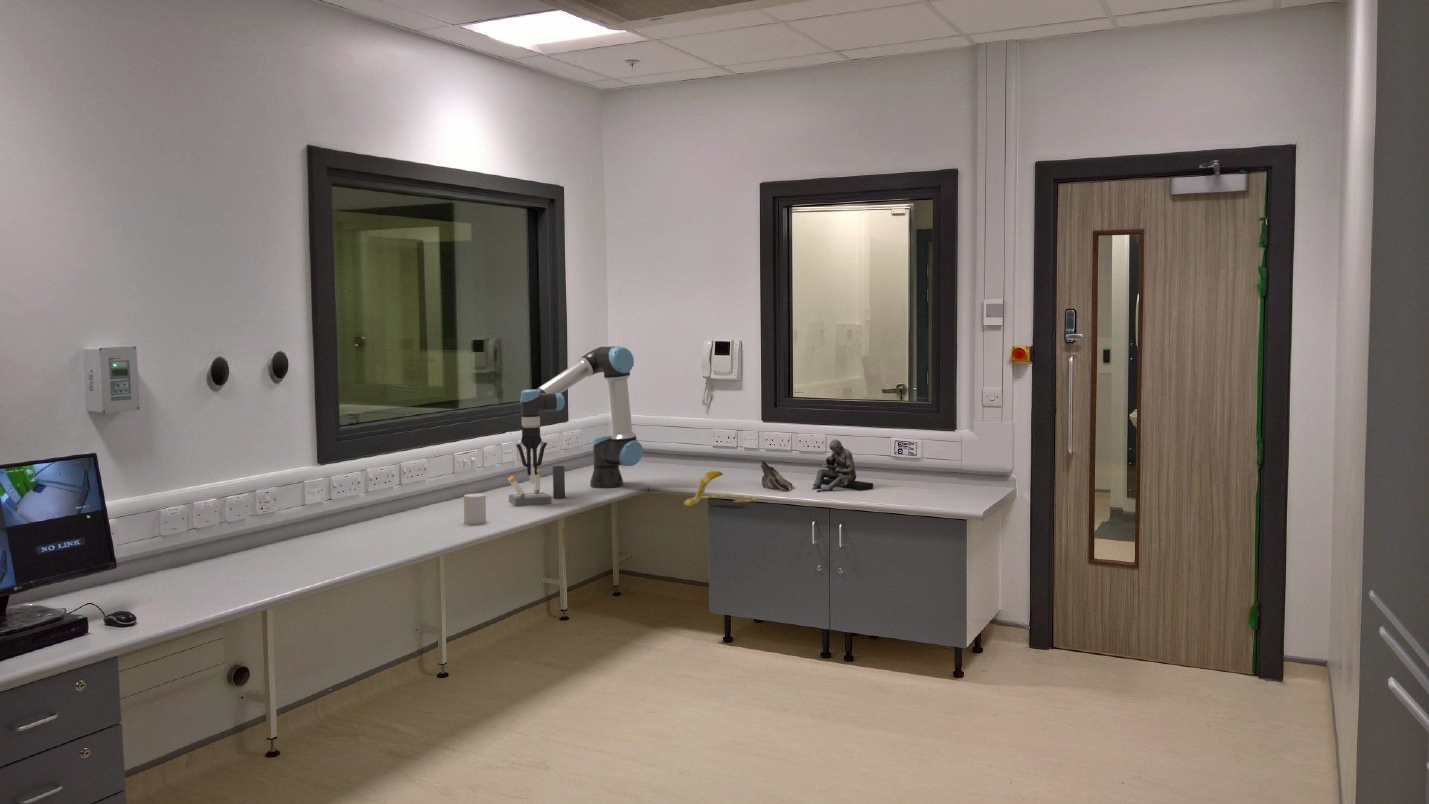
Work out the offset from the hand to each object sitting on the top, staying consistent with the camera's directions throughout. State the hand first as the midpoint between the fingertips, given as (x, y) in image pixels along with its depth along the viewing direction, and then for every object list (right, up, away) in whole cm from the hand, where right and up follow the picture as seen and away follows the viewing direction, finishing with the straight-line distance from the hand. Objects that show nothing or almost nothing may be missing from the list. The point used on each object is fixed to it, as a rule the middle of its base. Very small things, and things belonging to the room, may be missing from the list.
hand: (532, 482), depth 421 cm
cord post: (+9, -8, +14) cm, 19 cm away
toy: (+78, -9, -2) cm, 79 cm away
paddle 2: (0, -4, +9) cm, 10 cm away
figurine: (+129, -7, +25) cm, 132 cm away
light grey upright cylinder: (-16, -14, -34) cm, 40 cm away
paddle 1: (-4, -5, -2) cm, 7 cm away
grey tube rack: (-2, -9, +4) cm, 10 cm away
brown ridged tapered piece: (+98, 0, +20) cm, 100 cm away
